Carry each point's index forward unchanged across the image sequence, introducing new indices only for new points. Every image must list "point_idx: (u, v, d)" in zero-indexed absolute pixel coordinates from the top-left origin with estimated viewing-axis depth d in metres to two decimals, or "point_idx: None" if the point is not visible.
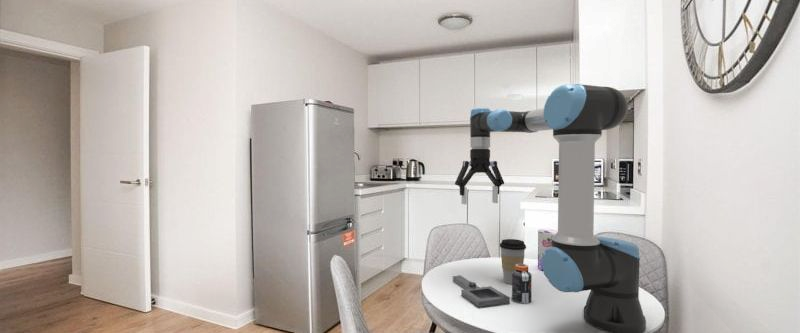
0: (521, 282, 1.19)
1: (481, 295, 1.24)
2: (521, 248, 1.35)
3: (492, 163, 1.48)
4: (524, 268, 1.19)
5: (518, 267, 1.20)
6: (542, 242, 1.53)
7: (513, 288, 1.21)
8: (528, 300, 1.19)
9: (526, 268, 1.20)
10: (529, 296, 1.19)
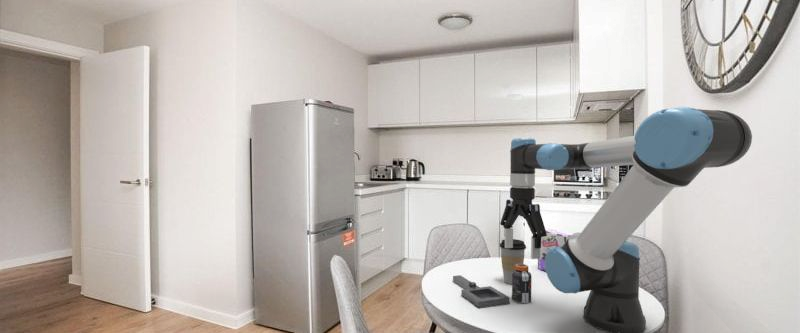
0: (521, 282, 1.19)
1: (481, 295, 1.24)
2: (521, 248, 1.35)
3: None
4: (524, 268, 1.19)
5: (518, 267, 1.20)
6: (542, 242, 1.53)
7: (513, 288, 1.21)
8: (528, 300, 1.19)
9: (526, 268, 1.20)
10: (529, 296, 1.19)
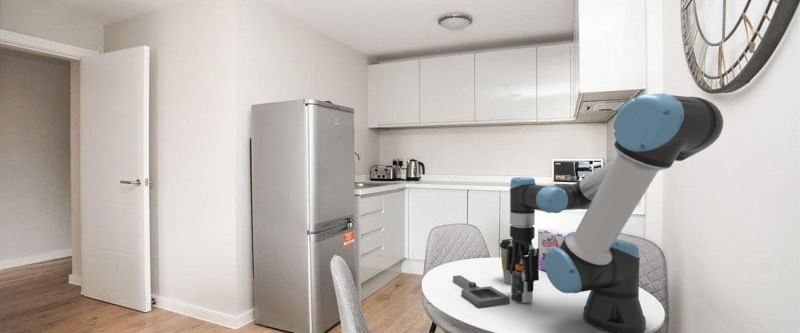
0: (521, 282, 1.19)
1: (481, 295, 1.24)
2: None
3: None
4: None
5: (518, 267, 1.20)
6: (542, 242, 1.53)
7: (513, 288, 1.21)
8: None
9: None
10: None
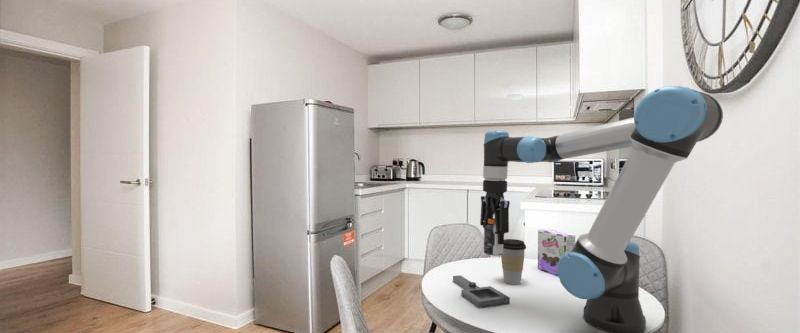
0: (492, 235, 1.19)
1: (481, 295, 1.24)
2: (521, 248, 1.35)
3: None
4: None
5: (490, 220, 1.21)
6: (542, 242, 1.53)
7: (485, 241, 1.22)
8: None
9: None
10: None
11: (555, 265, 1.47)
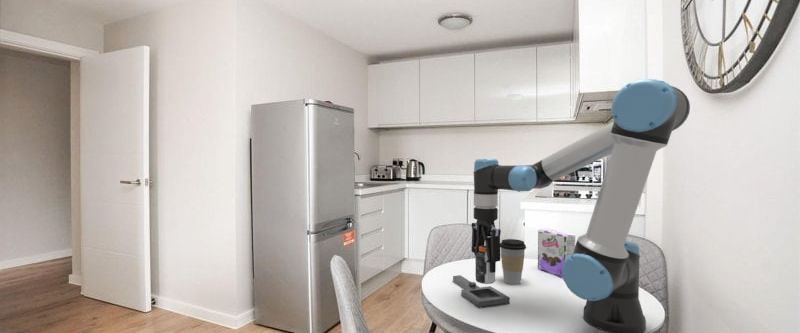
0: (483, 263, 1.19)
1: (481, 295, 1.24)
2: (521, 248, 1.35)
3: None
4: None
5: (481, 248, 1.20)
6: (542, 242, 1.53)
7: (476, 269, 1.21)
8: None
9: None
10: None
11: (555, 265, 1.47)
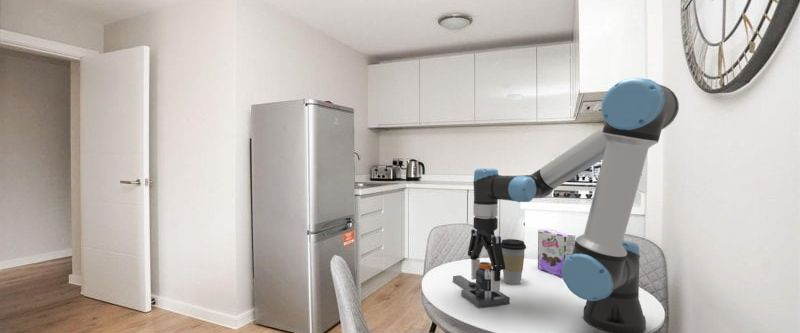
0: (483, 280, 1.19)
1: None
2: (521, 248, 1.35)
3: None
4: (487, 266, 1.20)
5: (481, 265, 1.20)
6: (542, 242, 1.53)
7: (476, 286, 1.21)
8: None
9: (489, 266, 1.20)
10: (492, 294, 1.19)
11: (555, 265, 1.47)
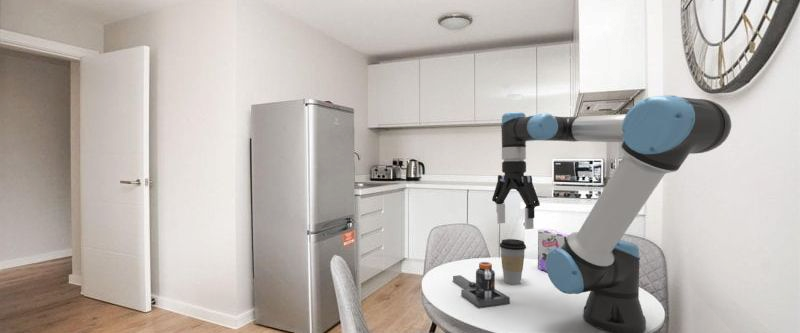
0: (483, 280, 1.19)
1: None
2: (521, 248, 1.35)
3: None
4: (487, 266, 1.20)
5: (481, 265, 1.20)
6: (542, 242, 1.53)
7: (476, 286, 1.21)
8: None
9: (489, 266, 1.20)
10: (492, 294, 1.19)
11: None
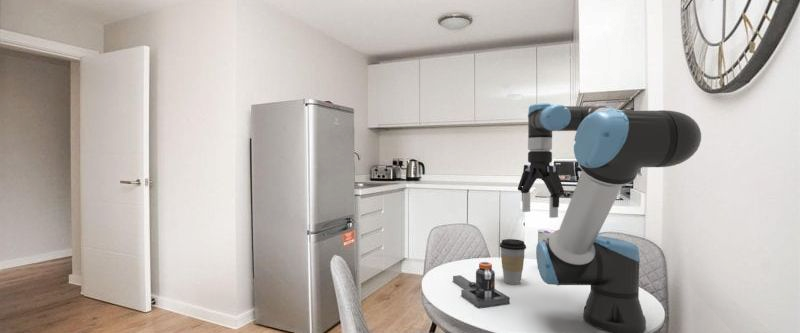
0: (483, 280, 1.19)
1: None
2: (521, 248, 1.35)
3: None
4: (487, 266, 1.20)
5: (481, 265, 1.20)
6: None
7: (476, 286, 1.21)
8: None
9: (489, 266, 1.20)
10: (492, 294, 1.19)
11: None
